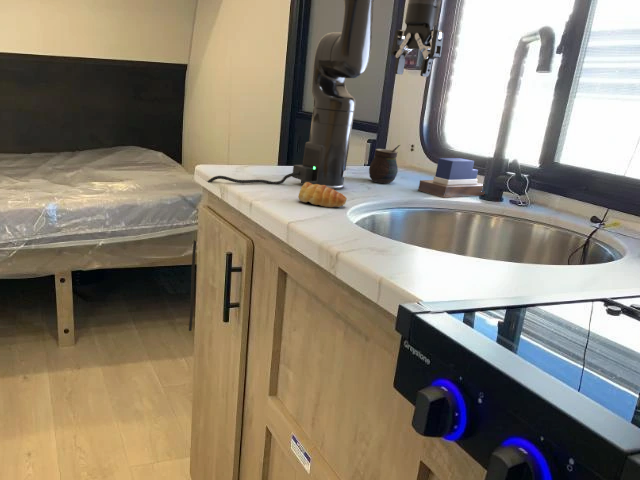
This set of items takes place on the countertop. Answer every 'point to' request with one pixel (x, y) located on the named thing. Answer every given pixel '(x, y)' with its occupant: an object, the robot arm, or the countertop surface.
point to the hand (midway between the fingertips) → (411, 75)
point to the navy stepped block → (455, 171)
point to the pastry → (321, 195)
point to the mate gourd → (384, 166)
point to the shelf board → (450, 189)
